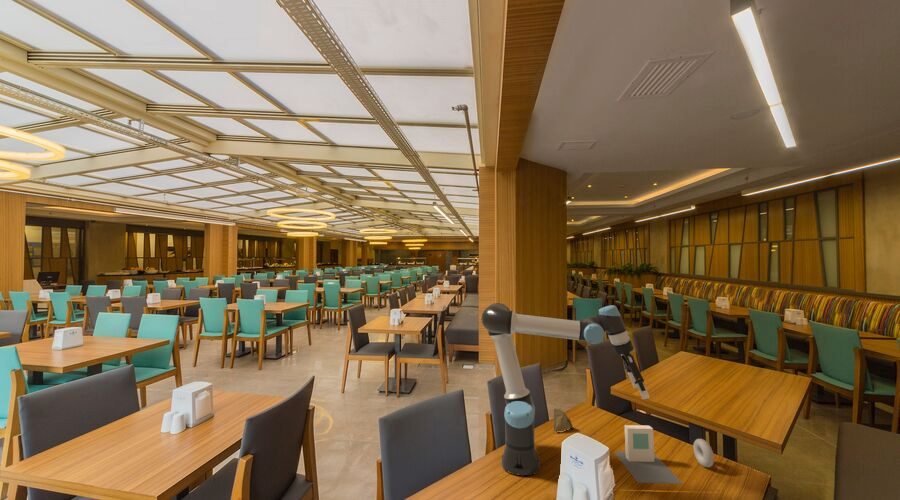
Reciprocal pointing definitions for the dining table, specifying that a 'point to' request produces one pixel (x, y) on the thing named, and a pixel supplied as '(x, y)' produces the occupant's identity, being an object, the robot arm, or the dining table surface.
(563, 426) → the rock
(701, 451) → the donut
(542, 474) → the dining table surface
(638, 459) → the tile
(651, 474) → the mat
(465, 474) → the dining table surface
